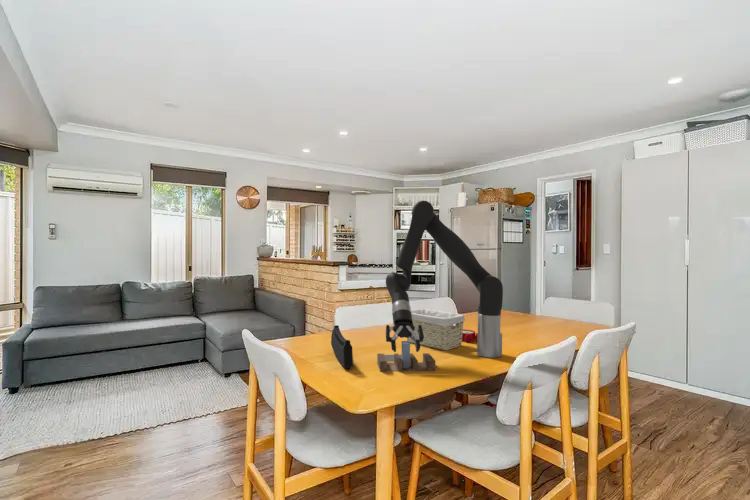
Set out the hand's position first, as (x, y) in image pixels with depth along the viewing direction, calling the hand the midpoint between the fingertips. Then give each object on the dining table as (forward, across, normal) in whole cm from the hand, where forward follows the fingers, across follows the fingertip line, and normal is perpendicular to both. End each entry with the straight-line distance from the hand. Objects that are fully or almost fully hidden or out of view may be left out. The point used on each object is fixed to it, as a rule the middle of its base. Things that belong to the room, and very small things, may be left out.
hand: (406, 350), depth 144 cm
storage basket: (-21, +19, +31) cm, 42 cm away
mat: (-5, -4, +14) cm, 15 cm away
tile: (+3, 0, +5) cm, 6 cm away
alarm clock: (-26, +38, +36) cm, 59 cm away
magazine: (-5, -24, +14) cm, 28 cm away
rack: (+4, 0, +6) cm, 7 cm away
